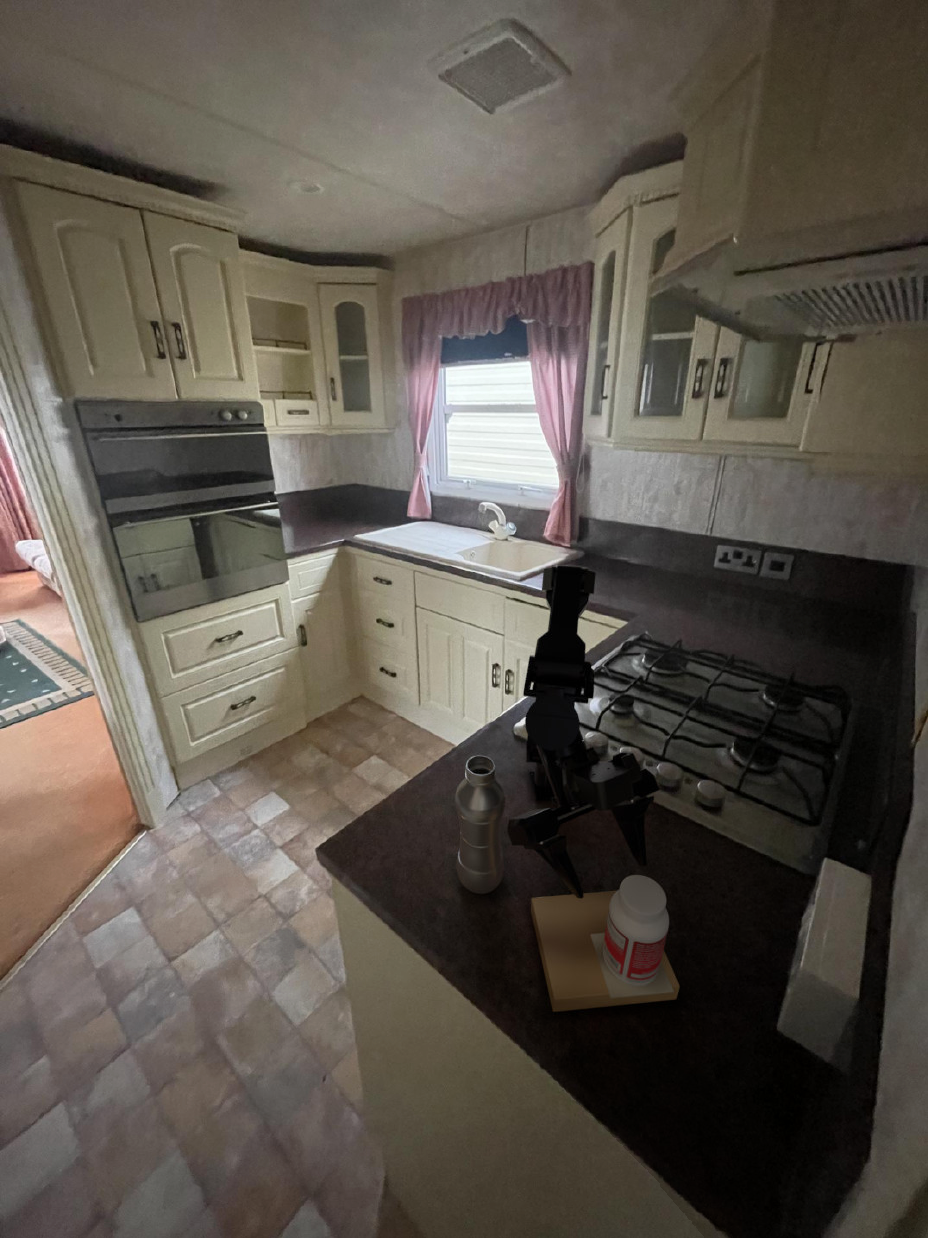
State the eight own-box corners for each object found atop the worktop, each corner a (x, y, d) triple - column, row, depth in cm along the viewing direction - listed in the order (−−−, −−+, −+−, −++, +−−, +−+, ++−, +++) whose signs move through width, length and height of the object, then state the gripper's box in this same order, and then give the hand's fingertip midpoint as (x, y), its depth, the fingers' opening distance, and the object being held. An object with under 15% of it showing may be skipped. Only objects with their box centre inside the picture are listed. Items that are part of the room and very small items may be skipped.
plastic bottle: (468, 908, 67) (467, 791, 59) (449, 868, 73) (445, 755, 64) (512, 890, 69) (517, 775, 61) (490, 852, 75) (491, 742, 67)
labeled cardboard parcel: (530, 910, 67) (531, 896, 66) (634, 901, 68) (637, 887, 67) (554, 1017, 56) (555, 1003, 54) (678, 1004, 57) (682, 990, 56)
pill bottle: (664, 951, 59) (680, 885, 55) (650, 1000, 55) (666, 933, 50) (611, 923, 62) (622, 859, 58) (594, 968, 58) (604, 901, 53)
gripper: (524, 763, 52) (583, 927, 48) (660, 714, 60) (722, 852, 55) (486, 775, 62) (532, 912, 58) (607, 731, 69) (656, 850, 65)
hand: (612, 881), depth 59 cm, fingers open, 9 cm apart
